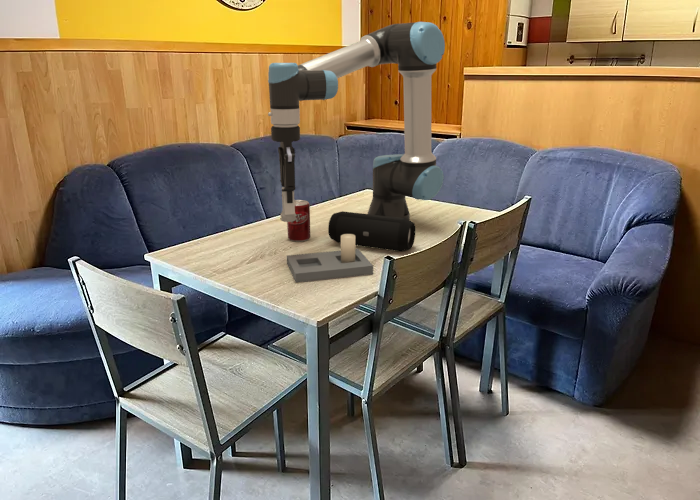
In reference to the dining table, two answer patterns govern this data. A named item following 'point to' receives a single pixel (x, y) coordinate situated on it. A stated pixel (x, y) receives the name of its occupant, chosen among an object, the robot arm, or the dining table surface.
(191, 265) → the dining table surface
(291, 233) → the soda can
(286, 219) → the rook chess piece
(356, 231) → the portable speaker
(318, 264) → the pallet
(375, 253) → the dining table surface
